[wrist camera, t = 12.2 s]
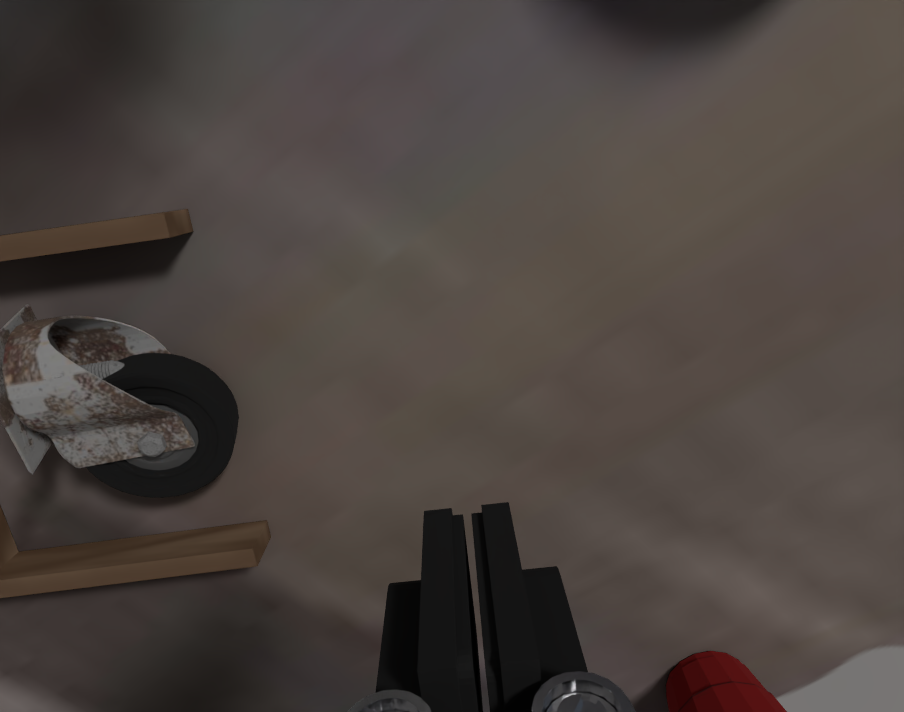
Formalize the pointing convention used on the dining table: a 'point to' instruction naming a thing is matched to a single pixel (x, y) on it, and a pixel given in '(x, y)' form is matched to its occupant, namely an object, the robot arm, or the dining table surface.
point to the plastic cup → (717, 686)
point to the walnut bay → (124, 558)
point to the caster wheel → (113, 404)
